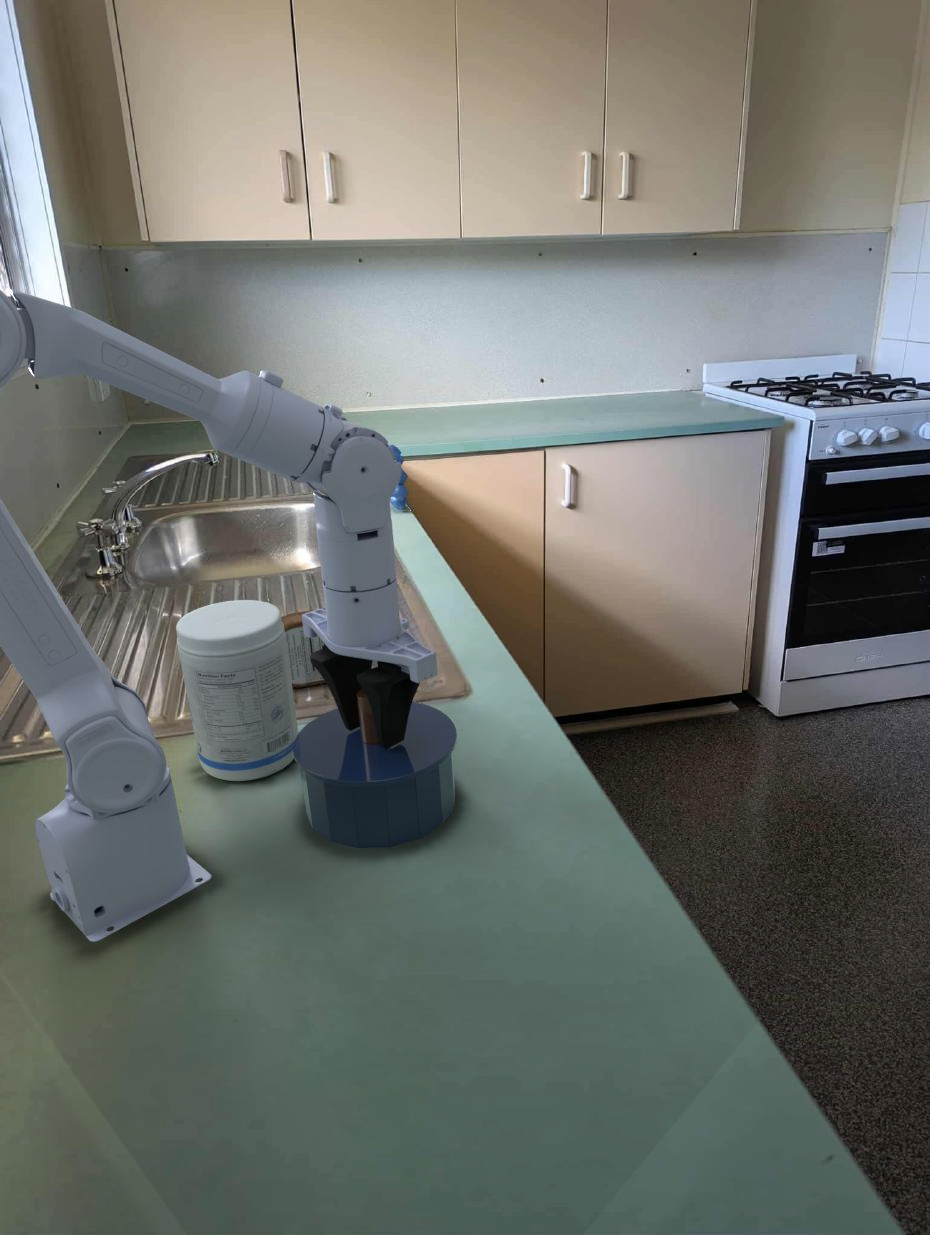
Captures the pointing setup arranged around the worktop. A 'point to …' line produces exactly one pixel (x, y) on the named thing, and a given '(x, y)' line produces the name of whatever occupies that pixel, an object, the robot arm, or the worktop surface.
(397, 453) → the grapes
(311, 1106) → the worktop surface
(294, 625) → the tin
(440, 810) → the crock
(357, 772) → the lid
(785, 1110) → the worktop surface
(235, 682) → the supplement tub
